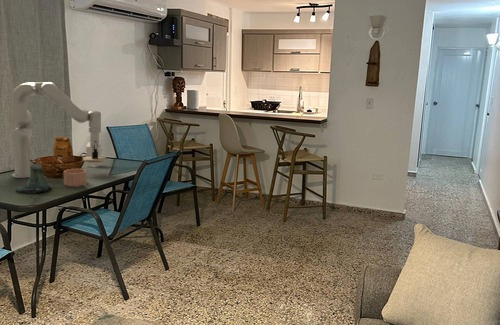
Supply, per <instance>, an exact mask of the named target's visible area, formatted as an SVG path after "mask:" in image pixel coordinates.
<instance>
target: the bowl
mask: <svg viewBox="0 0 500 325" xmlns="http://www.w3.org/2000/svg"><path fill="white" fill-rule="evenodd" d="M87 172H88V171H87V169H84V168H70V169H65V170H63V184H64V186H66V185H67V186H66V187H81V185H82V186H85V185H87V183H88V178H87Z"/></svg>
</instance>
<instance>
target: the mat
mask: <svg viewBox="0 0 500 325" xmlns="http://www.w3.org/2000/svg"><path fill="white" fill-rule="evenodd" d="M106 177H107V178H108V177H109V178H110V177H111V176H110V174H109V172H108V171H107V170H105V171H89V172H88V171H87V179H89V178H90V179H92V178H106Z"/></svg>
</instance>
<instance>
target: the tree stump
mask: <svg viewBox="0 0 500 325" xmlns="http://www.w3.org/2000/svg"><path fill="white" fill-rule="evenodd" d="M30 170H31V171H30V177H29V180H28V181H27V183H26V184H25V185H24V186H19V187H16V188H15V192H17V193H22V194H38V193H42V191H43V192H47V191H48V190H49V189H50V188H52V186H53V185H52V183H48V181H47V179H46V177H45V175H44V170H43V165H41V164H38V163H33V164H32V163H31V166H30ZM37 192H38V193H37Z"/></svg>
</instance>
